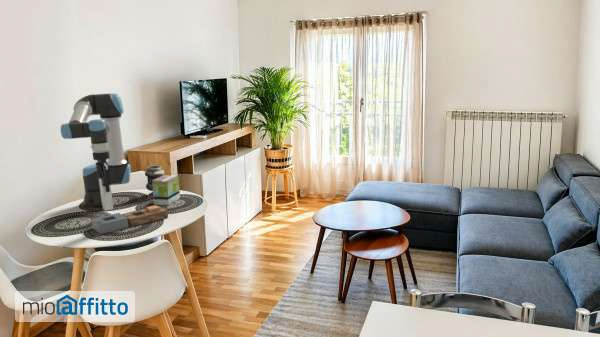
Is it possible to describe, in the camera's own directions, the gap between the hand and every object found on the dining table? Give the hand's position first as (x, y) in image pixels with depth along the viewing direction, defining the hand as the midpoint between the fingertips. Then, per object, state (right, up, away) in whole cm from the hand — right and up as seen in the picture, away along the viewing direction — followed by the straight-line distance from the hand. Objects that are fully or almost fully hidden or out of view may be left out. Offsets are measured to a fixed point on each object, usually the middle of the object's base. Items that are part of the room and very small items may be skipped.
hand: (106, 197), depth 241 cm
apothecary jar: (+6, -2, +63) cm, 63 cm away
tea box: (+18, -6, +47) cm, 50 cm away
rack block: (+1, -16, +4) cm, 16 cm away
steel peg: (0, -6, +1) cm, 6 cm away
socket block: (+15, -13, +15) cm, 25 cm away
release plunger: (+18, -11, +18) cm, 28 cm away
